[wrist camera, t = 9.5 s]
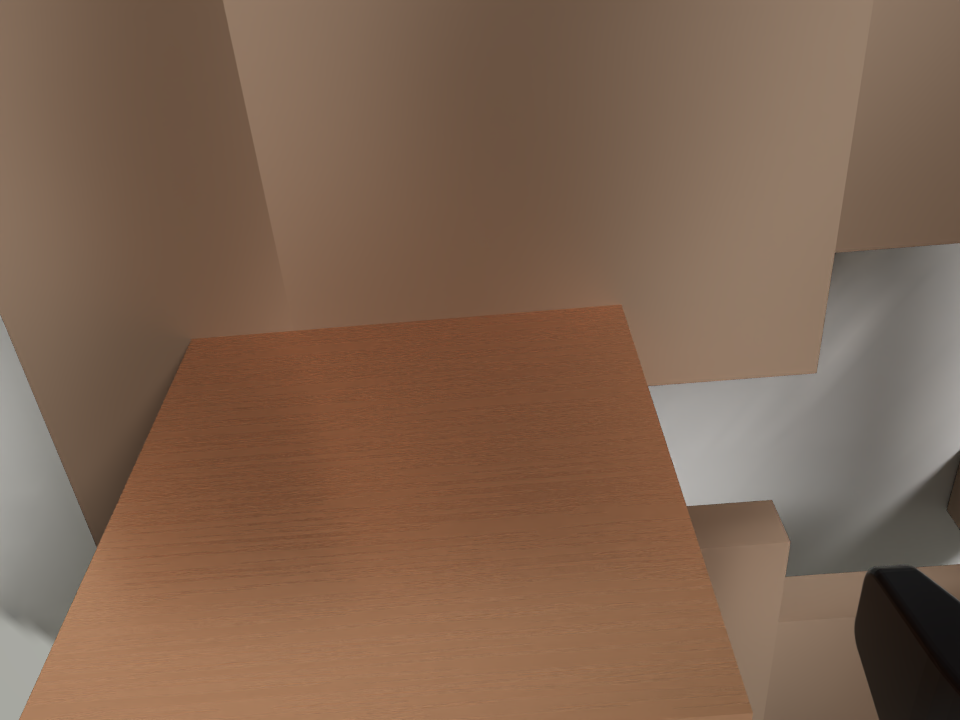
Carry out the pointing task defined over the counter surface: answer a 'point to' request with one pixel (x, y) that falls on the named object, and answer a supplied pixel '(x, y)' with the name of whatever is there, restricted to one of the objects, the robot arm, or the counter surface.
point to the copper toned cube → (401, 538)
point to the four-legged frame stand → (474, 211)
